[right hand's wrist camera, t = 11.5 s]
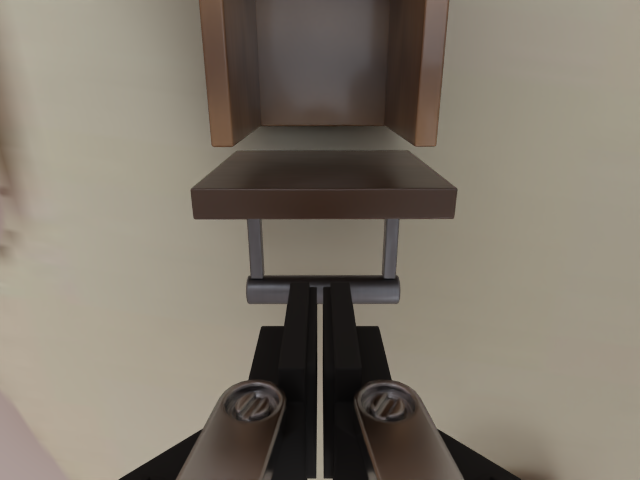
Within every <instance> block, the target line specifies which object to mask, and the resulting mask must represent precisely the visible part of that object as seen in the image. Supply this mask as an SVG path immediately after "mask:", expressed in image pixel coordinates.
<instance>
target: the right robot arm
mask: <svg viewBox="0 0 640 480" xmlns="http://www.w3.org/2000/svg"><path fill="white" fill-rule="evenodd" d="M316 449H317V287H310V282H291V283H290V289H289V296H288V303H287V310H286V317H285V323H284V326H262V327H261V330H260V334H259V338H258V342H257V346H256V351H255V355H254V359H253V363H252V367H251V371H250V375H249V380H247V381H243V382H240V383H237V384H235V385H233V386H231V387H230V388H229V389H227V390H226V391H225V392H224V393H223V394H222V395H221V397H220V398H219V400H218V402H217V404H216V405H215V407H214V409H213V411H212V413H211V415H210V417H209V418H208V420H207V422H206V424H205V426H204V428H203V429H202V430H200V431H198V432H197V433H195V434H193V435H192V436H190V437H188V438H187V439H185V440H183V441H182V442H180V443H178V444H177V445H175V446H173V447H172V448H170V449H168V450H167V451H165V452H163V453H162V454H160V455H158V456H157V457H155V458H153V459H152V460H150V461H149V462H147V463H145V464H144V465H142V466H140V467H139V468H137V469H135V470H134V471H132V472H130V473H129V474H127V475H125V476H124V477H122V478H120V479H119V480H307V478H316ZM323 449H324V478H333V480H521V479H520V478H518V477H516V476H515V475H513V474H511V473H510V472H508V471H506V470H505V469H503V468H501V467H500V466H498V465H496V464H495V463H493V462H491V461H490V460H488V459H487V458H485V457H483V456H482V455H480V454H478V453H477V452H475V451H473V450H472V449H470V448H468V447H467V446H465V445H463V444H462V443H460V442H458V441H457V440H455V439H453V438H452V437H450V436H448V435H447V434H445V433H443V432H442V431H440V430H438V429H437V428H436V426H435V424H434V422H433V420H432V418H431V417H430V415H429V413H428V411H427V409H426V407H425V405H424V404H423V402H422V400H421V398H420V397H419V395H418V394H417V393H416V392H415V391H414V390H413V389H411V388H410V387H409V386H407V385H405V384H403V383H400V382H397V381H393V380H391V375H390V371H389V367H388V363H387V359H386V355H385V351H384V346H383V342H382V338H381V334H380V330H379V327H378V326H356V323H355V317H354V310H353V303H352V296H351V289H350V283H349V282H330V287H323Z"/></svg>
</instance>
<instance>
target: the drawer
mask: <svg viewBox="0 0 640 480" xmlns="http://www.w3.org/2000/svg"><path fill="white" fill-rule="evenodd" d="M199 7H200V18H201V30H202V41H203V53H204V64H205V75H206V87H207V98H208V109H209V121H210V132H211V143H212V146H213V147H232V146H234V145H235V144H237V143H238V142H240V141H241V140H242V139H244V138H245V137H246V136H248V135H249V134H250V133H252V132H253V131H254V130H256V129H257V128H258V127H260V126H386V127H387V128H389V129H390V130H392V131H393V132H395V133H396V134H398V135H399V136H401V137H402V138H404V139H405V140H407V141H408V142H410V143H411V144H413V145H414V146H416V147H432V146H436V142H437V131H438V120H439V109H440V97H441V86H442V75H443V64H444V53H445V42H446V31H447V20H448V9H449V0H199ZM456 197H457V188H456V187H455V186H453V185H452V184H451V183H450V182H448V181H447V180H446V179H444V178H443V177H442V176H440V175H439V174H438V173H437V172H435V171H434V170H433V169H431V168H430V167H429V166H428V165H426V164H425V163H424V162H422V161H421V160H420V159H419V158H417V157H416V156H415V155H413V154H412V153H411V152H410V151H408V150H378V151H236V152H235V153H234V154H232V155H231V156H230V157H229V158H228V159H226V160H225V161H224V162H223V163H222V164H220V165H219V166H218V167H217V168H215V169H214V170H213V171H212V172H211V173H209V174H208V175H207V176H206V177H205V178H203V179H202V180H201V181H200V182H199V183H197V184H196V185H195V186H194V187H192V188H191V199H192V208H193V217H194V219H247V224H248V240H249V256H250V272H251V276H248V279H247V285H246V297H247V302H248V303H249V304H287V303H288V296H289V289H290V283H291V282H310V287H317V304H323V287H330V282H349V283H350V289H351V296H352V303H353V304H397V303H399V300H400V281H399V278H398V276H397V275H396V262H397V247H398V232H399V219H453V218H454V215H455V206H456ZM262 219H385V224H384V243H383V262H382V275H269V276H264V256H263V237H262Z"/></svg>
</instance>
